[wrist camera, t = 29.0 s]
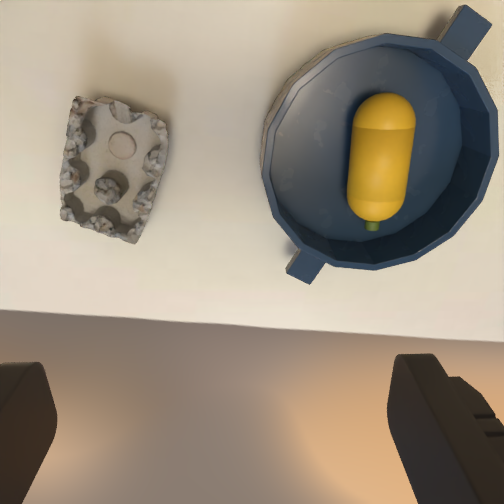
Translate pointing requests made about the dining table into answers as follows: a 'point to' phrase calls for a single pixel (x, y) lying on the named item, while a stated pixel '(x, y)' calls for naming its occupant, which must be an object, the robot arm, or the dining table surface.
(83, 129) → the egg carton
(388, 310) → the dining table surface
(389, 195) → the squash
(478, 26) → the pot
